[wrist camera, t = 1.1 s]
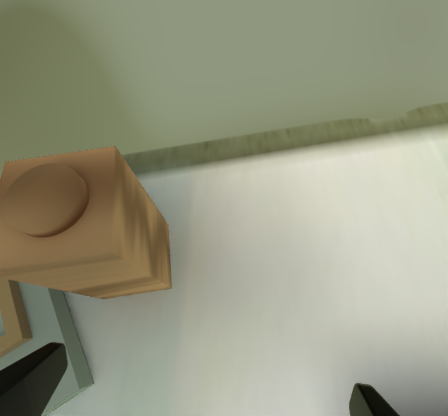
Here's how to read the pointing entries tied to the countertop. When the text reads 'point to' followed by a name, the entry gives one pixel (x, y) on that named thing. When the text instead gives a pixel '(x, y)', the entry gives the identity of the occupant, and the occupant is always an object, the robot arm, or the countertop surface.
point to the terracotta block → (81, 226)
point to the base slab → (41, 333)
